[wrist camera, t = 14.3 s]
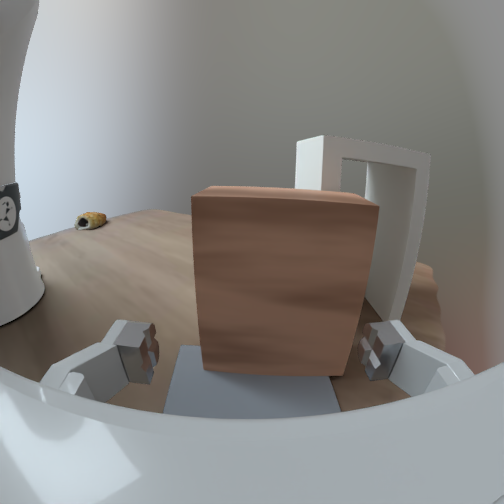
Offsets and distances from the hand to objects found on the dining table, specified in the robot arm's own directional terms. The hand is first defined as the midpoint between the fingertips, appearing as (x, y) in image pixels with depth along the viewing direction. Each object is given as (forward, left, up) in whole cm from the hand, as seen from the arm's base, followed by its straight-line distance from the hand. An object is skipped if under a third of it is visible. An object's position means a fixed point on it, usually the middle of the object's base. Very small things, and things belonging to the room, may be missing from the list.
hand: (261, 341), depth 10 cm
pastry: (-38, +50, -9) cm, 63 cm away
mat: (0, +3, -8) cm, 9 cm away
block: (+2, +8, -8) cm, 11 cm away
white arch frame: (+10, +16, -8) cm, 21 cm away
